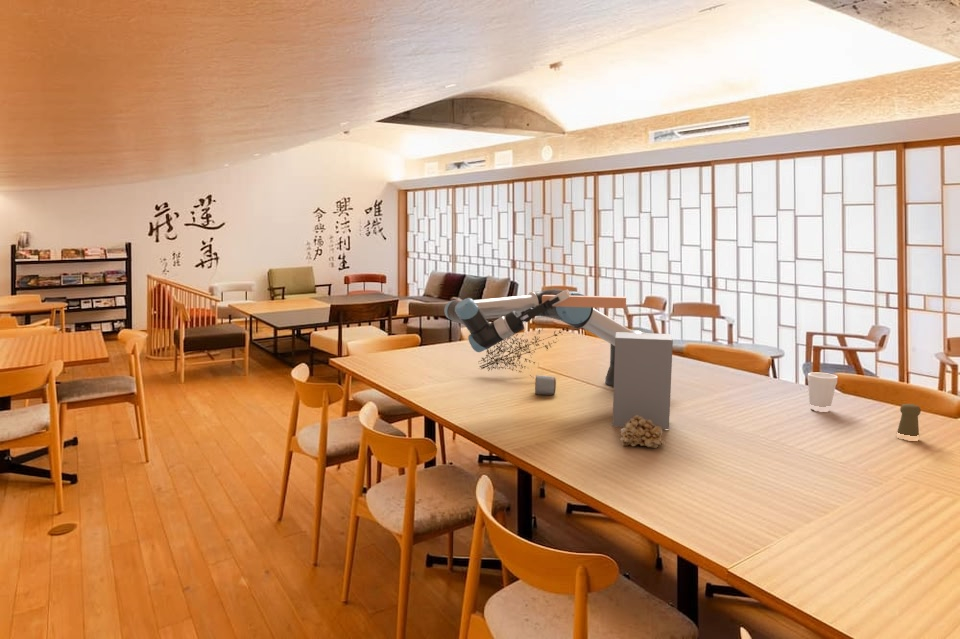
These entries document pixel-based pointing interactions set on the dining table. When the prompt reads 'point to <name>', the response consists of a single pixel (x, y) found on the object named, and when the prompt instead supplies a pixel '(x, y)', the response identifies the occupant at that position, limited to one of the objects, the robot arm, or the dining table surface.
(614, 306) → the rail
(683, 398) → the dining table surface
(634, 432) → the mineral formation
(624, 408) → the stand
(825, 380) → the foam cup
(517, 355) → the dried plant
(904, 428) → the olive pepper mill
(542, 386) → the ceramic mug
